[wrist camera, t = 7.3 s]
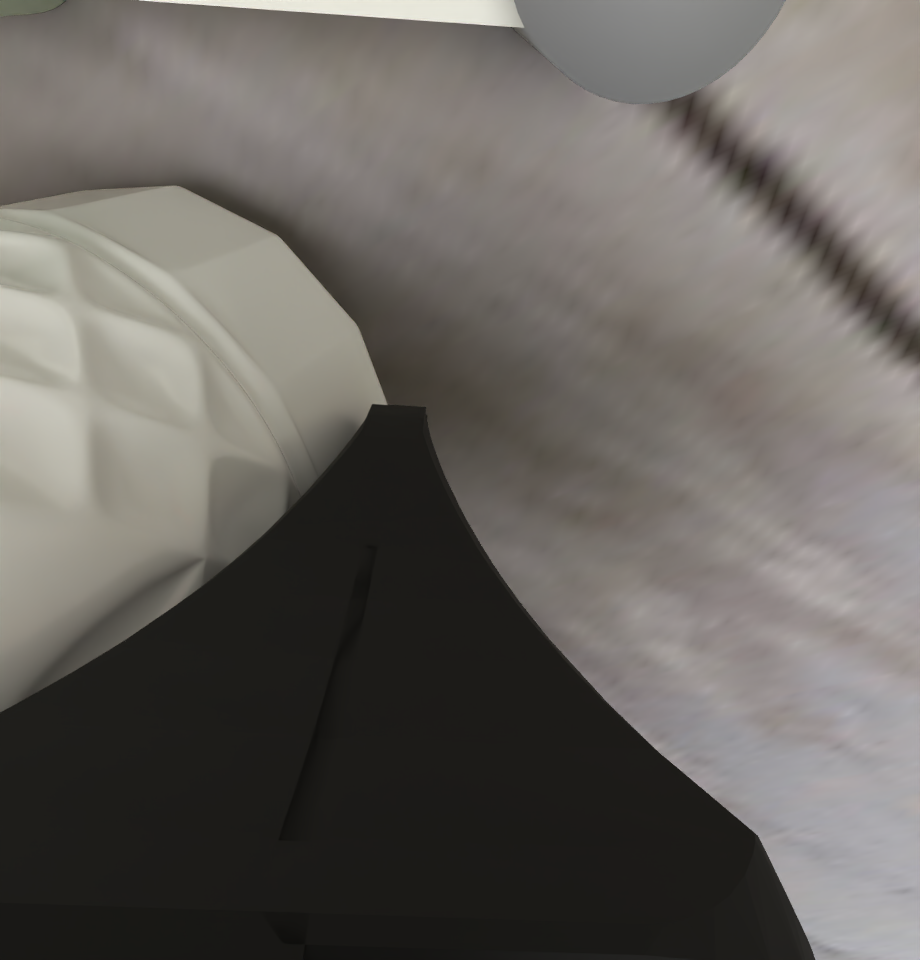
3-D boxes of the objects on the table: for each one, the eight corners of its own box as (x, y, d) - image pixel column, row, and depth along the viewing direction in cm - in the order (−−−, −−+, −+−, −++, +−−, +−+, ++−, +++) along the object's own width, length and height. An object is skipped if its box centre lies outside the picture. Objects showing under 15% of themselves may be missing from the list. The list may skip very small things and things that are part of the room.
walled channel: (528, 665, 17) (550, 889, 12) (134, 649, 16) (25, 874, 12) (665, -140, 8) (860, -253, 4) (-116, -203, 8) (-701, -390, 4)
